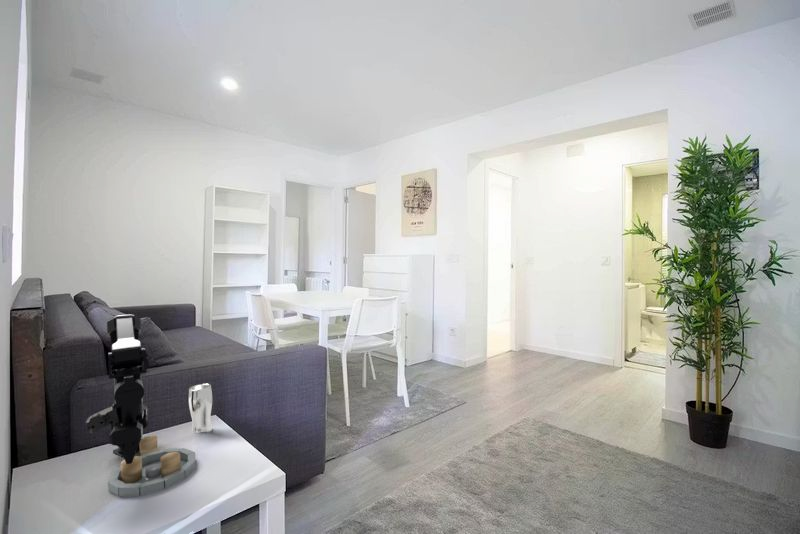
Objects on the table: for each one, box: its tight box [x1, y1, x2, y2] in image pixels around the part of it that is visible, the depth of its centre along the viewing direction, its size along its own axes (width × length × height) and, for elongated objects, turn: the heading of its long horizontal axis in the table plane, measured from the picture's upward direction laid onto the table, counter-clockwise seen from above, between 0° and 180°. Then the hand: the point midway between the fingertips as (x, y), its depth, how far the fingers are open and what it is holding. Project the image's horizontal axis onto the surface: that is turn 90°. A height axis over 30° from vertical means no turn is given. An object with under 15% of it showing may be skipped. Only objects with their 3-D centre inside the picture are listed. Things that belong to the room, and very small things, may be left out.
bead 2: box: [139, 435, 159, 456], centre depth 112 cm, size 4×4×5 cm
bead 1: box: [120, 455, 142, 484], centre depth 98 cm, size 4×4×5 cm
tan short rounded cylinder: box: [161, 452, 181, 478], centre depth 100 cm, size 4×4×5 cm
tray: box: [107, 447, 197, 497], centre depth 101 cm, size 19×19×3 cm
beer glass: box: [188, 383, 213, 434], centre depth 127 cm, size 7×7×15 cm
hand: (131, 455), depth 98 cm, fingers open, 9 cm apart
